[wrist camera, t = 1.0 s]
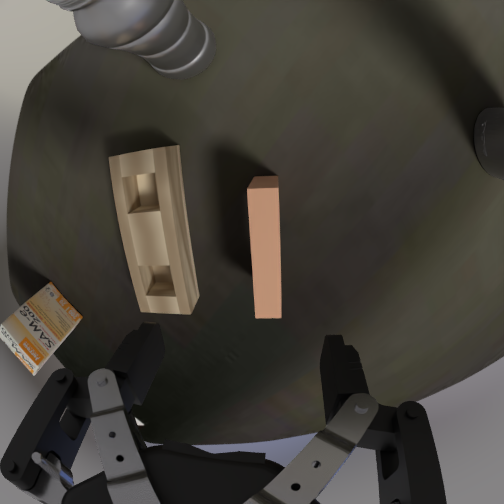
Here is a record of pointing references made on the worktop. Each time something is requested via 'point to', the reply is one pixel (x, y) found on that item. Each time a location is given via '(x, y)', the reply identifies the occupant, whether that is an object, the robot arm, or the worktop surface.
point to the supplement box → (39, 327)
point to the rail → (155, 228)
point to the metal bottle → (147, 32)
